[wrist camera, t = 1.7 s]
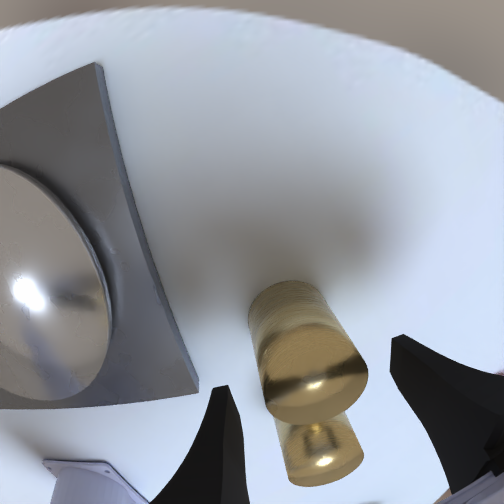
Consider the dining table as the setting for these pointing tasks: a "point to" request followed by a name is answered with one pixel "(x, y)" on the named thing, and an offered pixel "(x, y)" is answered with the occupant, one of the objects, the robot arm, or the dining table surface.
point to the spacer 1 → (303, 355)
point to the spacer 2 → (319, 450)
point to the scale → (99, 237)
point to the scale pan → (47, 294)
